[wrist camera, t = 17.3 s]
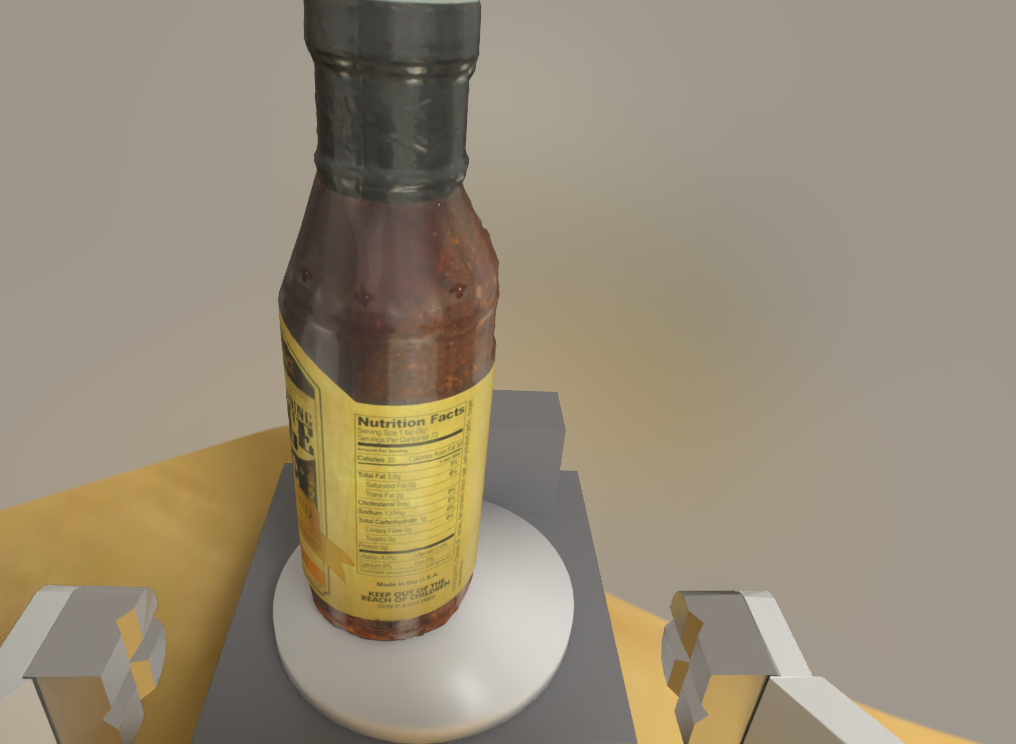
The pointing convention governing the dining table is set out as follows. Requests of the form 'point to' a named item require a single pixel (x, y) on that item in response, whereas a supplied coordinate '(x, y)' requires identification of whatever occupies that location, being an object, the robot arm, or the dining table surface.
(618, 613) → the dining table surface
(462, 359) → the sauce bottle
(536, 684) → the kitchen scale
